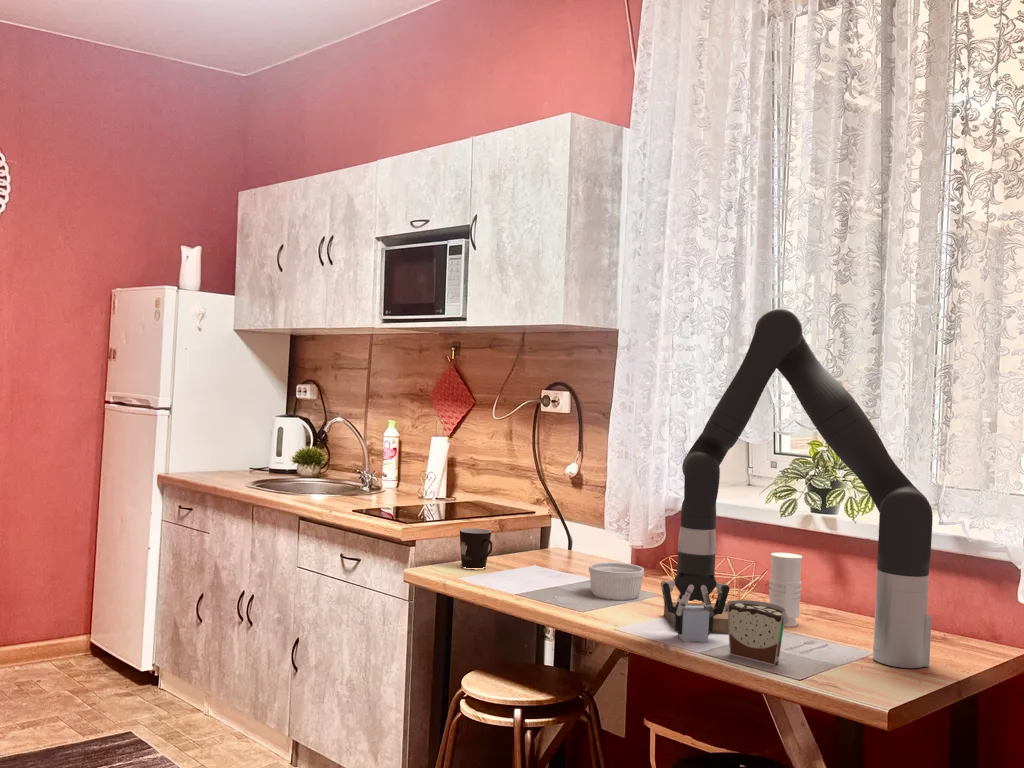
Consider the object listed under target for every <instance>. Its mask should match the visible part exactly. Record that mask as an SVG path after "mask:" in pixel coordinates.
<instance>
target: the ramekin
mask: <svg viewBox="0 0 1024 768" xmlns="http://www.w3.org/2000/svg"><path fill="white" fill-rule="evenodd" d="M588 573H589V578H590V579H589V580H590V589H591V593H593V596H595V595H596V596H595V597H597V596H599V597H598V598H600V597H602V598H601V599H604V598H606V599H605V600H610V599H613V600H612V601H632V600H636V599H637V598H638V596H640V594H641V589H642V584H643V583H642V582H643V576H644V575H645V568H643V567H642V566H640V565H637V564H631V563H625V562H614V561H613V562H612V561H611V562H610V561H609V562H607V561H605V562H594V563H591V564H590V565H589V566H588Z"/></svg>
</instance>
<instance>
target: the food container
mask: <svg viewBox="0 0 1024 768" xmlns="http://www.w3.org/2000/svg"><path fill="white" fill-rule="evenodd" d="M725 604H726V608H725V612H726V611H728V628H729V633H728V642H729V643H728V644H729V645H728V646H729V655H731V656H733V657H738V658H741V659H742V658H743V659H745V660H751V661H755V662H758V663H762V664H766V665H770V666H774V667H776V666H778V664H779V659H780V654H781V647H782V639H783V633H784V627H785V626H784V624H787V623H788V618H787V613H786V610H785V609H784V608H783V607H781V606H778V605H775V604H771V603H769V602H767V601H760V600H751V599H749V600H747V599H737V600H736V599H733V600H727V603H725Z"/></svg>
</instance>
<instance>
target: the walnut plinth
mask: <svg viewBox="0 0 1024 768" xmlns="http://www.w3.org/2000/svg"><path fill="white" fill-rule="evenodd" d="M676 603H677V601H676V602H674V601H672V604H673V606H675V605H676ZM663 604H664V603H663ZM711 604H712V608H713V607H715V603H711ZM726 604H727V603H725V606H724V610H723V613H722V614H717V615H715V616H714V617H713V630H712V632H710V634H712V633H713V634H729V628H728V611H726V612H725V608H726ZM686 606H703V604H702V602H688V603H687V605H686ZM663 616H664V617H665V619H666V620H667V621H668V622H669V623H670V625H672V627H673V628H674V613H671V612H668V610H667V609H666V608H665V604H664V605H663Z"/></svg>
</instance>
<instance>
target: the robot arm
mask: <svg viewBox="0 0 1024 768" xmlns="http://www.w3.org/2000/svg"><path fill="white" fill-rule="evenodd" d="M776 369H777V370H778V371H779V372H780V374H781V375H782V376H783V377H784V379H785V380H786V381H787V383H788V385H790V387H791V389H792V390H793V393H794V394H795V395H796V398H797V399H798V401H799V403H800V405H801V407H802V408H803V410H804V412H805V413H806V415H807V416H808V417H809V419H810V421H811V422H812V424H813V426H814V427H815V429H816V430H817V432H818V433H819V434H820V436H821V437H822V439H823V440H824V441H825V443H826V444H827V445H828V447H829V448H830V449H831V451H833V453H835V455H836V456H837V457H838V458H839V460H841V461H842V462H843V464H845V465H846V467H848V469H849V470H851V471H852V472H853V474H854V475H855V476H856V477H857V478H858V479H859V481H860V482H861V484H862V485H863V487H864V488H865V490H866V492H867V493H868V495H869V496H870V498H871V499H872V502H873V503H874V505H875V507H876V509H877V510H878V514H879V521H878V542H877V543H878V545H877V558H876V561H877V565H876V582H875V583H876V588H875V608H874V627H873V630H874V631H873V645H872V658H873V660H874V661H876V662H878V663H880V664H883V665H887V666H891V667H896V668H902V669H919V668H920V669H921V668H924V667H926V668H927V667H928V668H929V667H930V661H931V643H932V642H931V640H932V637H931V636H932V621H933V620H932V615H930V614H928V604H929V603H928V601H929V598H928V597H929V578H930V576H929V574H930V565H931V559H932V557H931V555H932V539H933V538H932V535H933V520H934V519H933V509H932V506H931V504H930V502H929V500H928V499H927V497H926V496H925V494H923V493H922V492H921V491H920V490H919V489H918V488H917V487H916V486H915V485H914V483H912V481H910V480H909V479H908V477H907V476H906V474H904V473H903V471H902V470H901V469H900V467H898V465H897V464H896V463H895V461H894V460H893V458H892V457H891V455H890V454H889V452H888V450H887V448H886V447H885V445H884V442H883V441H882V438H881V437H880V436H879V433H878V432H877V431H876V429H875V427H874V425H873V424H872V422H871V421H870V419H869V418H868V416H867V415H866V413H865V412H864V410H863V409H862V408H861V406H860V405H859V404H858V402H856V401H857V400H855V398H854V397H853V396H852V394H850V393H849V391H848V390H847V389H846V388H845V387H844V386H843V385H842V383H840V382H839V381H838V380H837V379H836V377H834V376H833V375H832V374H831V373H830V372H828V370H827V369H826V368H825V367H824V366H823V365H822V364H821V362H820V361H819V360H818V358H817V357H816V355H815V354H814V352H813V350H812V349H811V347H810V345H809V344H808V342H807V341H806V338H805V337H804V335H803V326H802V323H801V320H800V319H799V317H798V316H797V315H796V314H795V313H794V312H793V311H791V310H789V309H787V308H774V309H770V310H768V311H766V312H765V313H763V314H762V315H761V316H760V317H759V318H758V320H757V322H756V325H755V328H754V333H753V336H752V339H751V342H750V344H749V346H748V349H747V351H746V354H745V357H743V360H742V362H741V365H740V366H739V368H738V370H737V371H736V374H735V375H734V377H733V379H732V380H731V381H730V384H729V385H728V387H727V389H726V390H725V391H724V392H723V394H722V396H721V398H720V400H719V401H718V403H717V405H716V406H715V407H714V409H713V412H712V413H711V414H710V416H709V419H708V420H707V421H706V424H705V426H704V429H703V430H702V432H701V433H700V435H699V437H698V438H697V439H696V440H695V442H694V443H693V445H692V446H691V448H690V449H689V450H688V452H687V453H686V456H685V457H684V459H683V462H682V466H681V467H682V468H681V469H682V474H683V476H684V486H683V487H684V488H683V492H684V493H683V500H682V503H681V509H680V527H679V533H678V543H677V561H676V562H677V563H676V574H675V577H674V579H673V580H669V581H665V580H662V581H661V582H660V586H661V592H662V598H663V604H665V608H666V609H667V610H668V612H671V613H674V627H673V630H674V631H676V633H677V635H678V634H682V620H683V616H682V612H683V610H684V608H685V606H686V605H687V603H689V601H692V602H693V601H698V602H701V603H702V604H703V606H704V608H706V610H707V611H709V630H708V636H710V634H711V633H710V632H712V630H713V617H714V616H715V615H717V614H722V613H723V610H724V606H725V604H727V603H726V602H727V601H728V595H729V593H730V586H729V585H728V584H726V583H724V582H723V583H720V582H717V580H716V578H715V573H716V572H715V571H716V553H717V533H716V524H717V522H716V521H717V500H718V495H719V486H720V479H721V477H720V475H721V474H720V473H721V470H720V469H721V467H720V466H721V464H722V462H723V460H724V459H725V457H726V455H727V454H728V452H729V450H730V449H731V448H733V447H734V446H735V445H736V443H737V442H738V440H739V439H740V437H741V435H742V433H743V431H744V430H745V428H746V426H747V424H748V423H749V421H750V419H751V417H752V415H753V413H754V411H755V409H756V407H757V405H758V403H759V400H760V398H761V396H762V394H763V392H764V390H765V388H766V386H767V384H768V382H769V380H770V379H771V378H772V376H773V375H774V372H775V371H776ZM674 587H676V589H677V590H678V592H679V594H678V596H677V599H676V602H677V603H676V605H675V606H673V604H672V602H673V599H672V595H671V593H672V592H674ZM715 589H716V591H715V592H716V593H717V597H716V600H715V603H714V604H715V607H713V608H712V604H713V603H712V601H711V599H710V595H711V594H712V593H713V591H714V590H715Z"/></svg>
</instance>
